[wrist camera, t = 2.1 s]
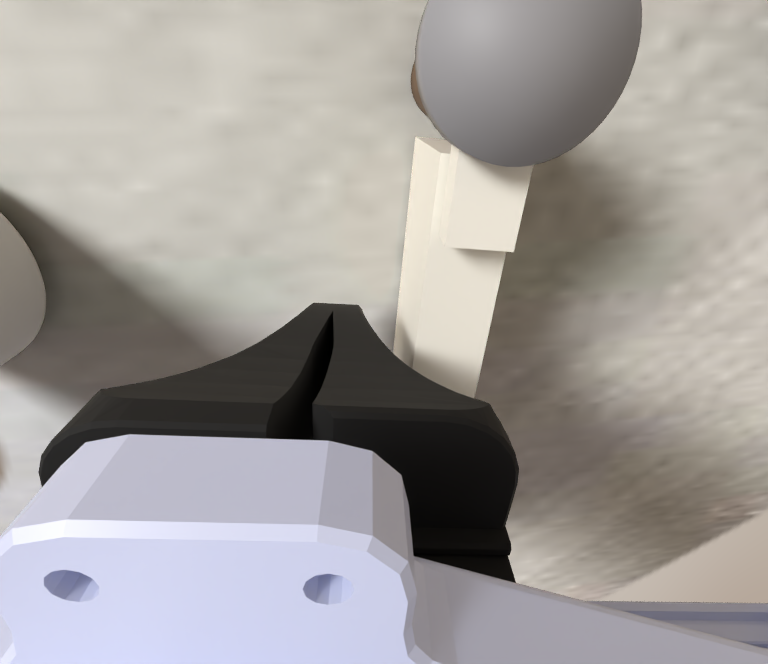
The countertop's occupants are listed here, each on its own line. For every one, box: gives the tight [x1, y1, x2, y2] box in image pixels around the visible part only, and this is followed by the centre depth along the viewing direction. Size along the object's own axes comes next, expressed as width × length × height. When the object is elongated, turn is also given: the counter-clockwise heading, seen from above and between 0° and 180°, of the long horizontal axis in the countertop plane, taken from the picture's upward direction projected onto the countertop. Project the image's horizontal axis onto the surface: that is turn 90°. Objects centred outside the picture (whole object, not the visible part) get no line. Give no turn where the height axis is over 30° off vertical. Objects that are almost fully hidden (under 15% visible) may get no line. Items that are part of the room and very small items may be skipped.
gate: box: [393, 0, 642, 398], centre depth 10 cm, size 12×3×6 cm, turn 175°
